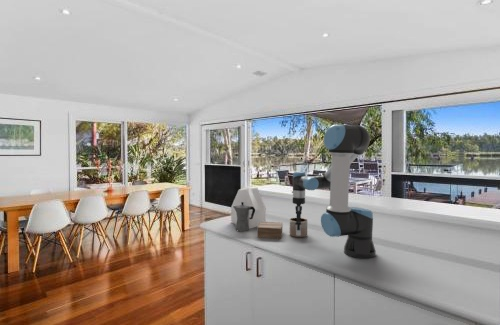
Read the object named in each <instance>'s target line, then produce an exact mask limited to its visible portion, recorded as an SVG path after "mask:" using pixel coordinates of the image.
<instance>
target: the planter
mask: <svg viewBox="0 0 500 325" xmlns="http://www.w3.org/2000/svg"><path fill="white" fill-rule="evenodd" d="M296 220H297V217H291V218H289V235H290V236H291V237H294V238H304V237H307V236H308V219H307V218H304V217H301V236H299V235H296V225H295V223H296Z"/></svg>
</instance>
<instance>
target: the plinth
mask: <svg viewBox="0 0 500 325" xmlns="http://www.w3.org/2000/svg"><path fill="white" fill-rule="evenodd" d="M282 236H283V222H280V221H279V222H275V221H266V222H260V224H259V226H257V238H260V239H261V238H265V239H278V240H279V239H282Z"/></svg>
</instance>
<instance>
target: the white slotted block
mask: <svg viewBox="0 0 500 325" xmlns="http://www.w3.org/2000/svg"><path fill="white" fill-rule="evenodd" d="M241 202H244V203H243V205H246V206H251V207H254V208H255V213H254V215H253V218H252V219H249V218H251V214H252V211H253V210H252V209H250V210H249V212H248V217H247V219H248V226H249V229H252V228H258V226H259V224H260V222H267V221H266V216H267V215H266V212H267V211H266V210H267V209H266V205H265V203H264V201H263V198H262V196H261V193H260V190H259V188H258V187H255V186H254V187H249V188H240V189H238V190H237V193H236V195H235V197H234V199H233V202H232V204H231V207H230V217H231V218H230V220H231V221H230V223H231V224H233V225H236V224H237V213H236V210H235V209H234V207H233V206H239V205H242V204H241Z"/></svg>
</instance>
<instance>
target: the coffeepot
mask: <svg viewBox="0 0 500 325" xmlns="http://www.w3.org/2000/svg"><path fill="white" fill-rule="evenodd" d="M243 203H244V202H241V204H242V205H239V206H233V207H234V209H235V210H236V213H237V224H235V230H236V231H237V230H238V231H237V232H248V231H249V230H250V228H249V226H248V219H247V217H248V212H249V210H250V209H252V210H253V211H252V214H251V218H249V219H252V218H253V215H254V213H255V208H254V207H251V206H246V205H243Z"/></svg>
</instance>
